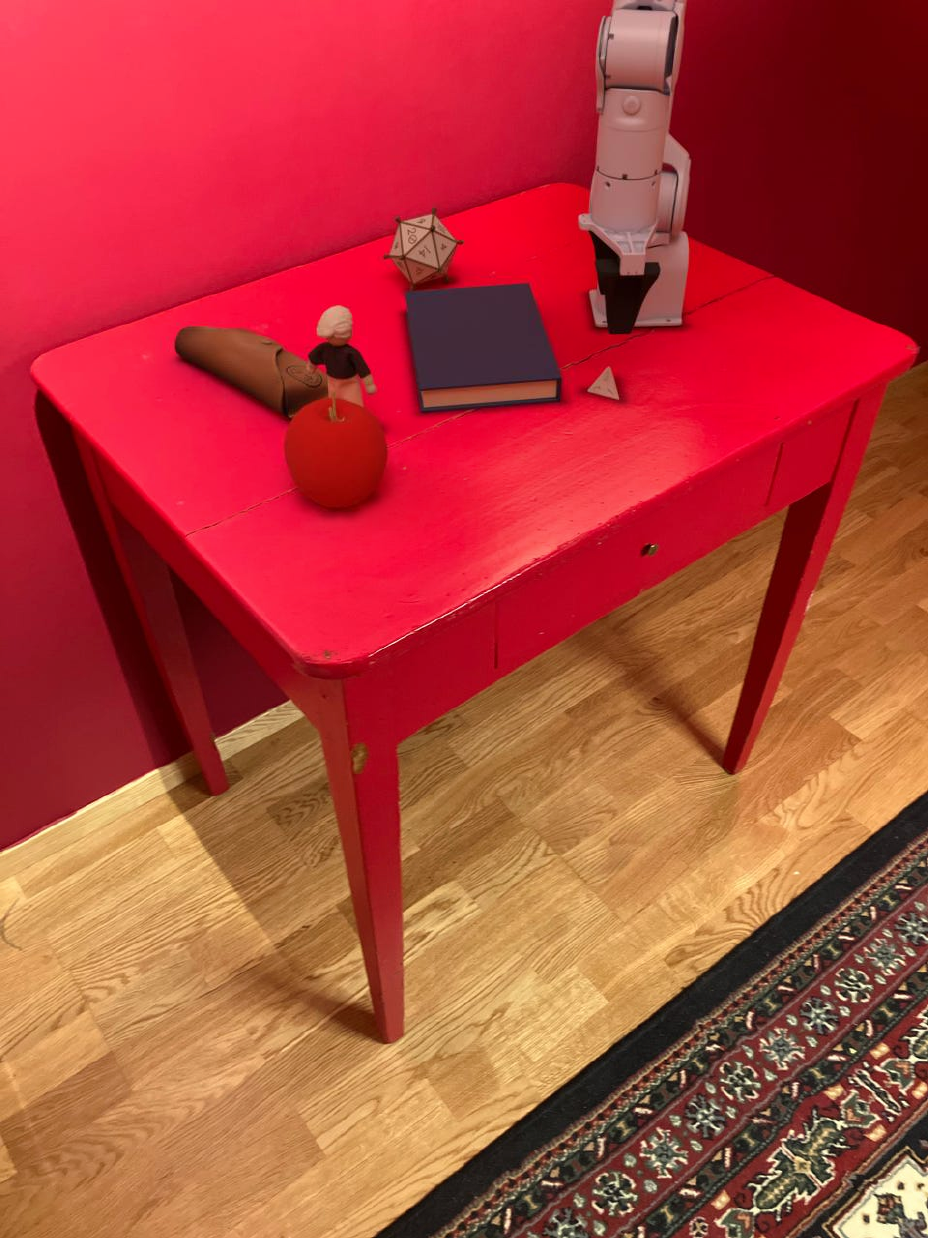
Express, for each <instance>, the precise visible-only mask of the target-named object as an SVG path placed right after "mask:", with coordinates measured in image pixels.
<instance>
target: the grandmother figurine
mask: <svg viewBox="0 0 928 1238" xmlns="http://www.w3.org/2000/svg"><path fill="white" fill-rule="evenodd" d="M353 324H354V322H353V315H352V313H351V311H350V309H349V308H347V307H345V306H343V305H333V306H331V307H329V308H328V309H326V310H325V311H324V312H323V313H322V315H321V316H320V319H319V320H318V323H317V327H316V328H315V330H316V334H317V336H318V338H321V339H326V341H324V342H321V343H319V344H317V345H316V346H314V348H313V349H311V351H310V352H309V353H307V358H308V359H307V362H308V364H307V366H306V370H307V372H308V373H310V374H314V373H315V372H316V371H317V368H318V366H324V367H325V373H326V374H327V376H328V393H329V398H332V394H331V390H333V391H335V398H336V399H342V400H346V401H349V402H352V403H355V404H358V405H360V406H362V407H364V408H365V406H364V398H363V391H362V385H363V386H364V389H365V393H366V394H367V395H370V396H372V395H375V393H377V390H378V387H377V386H376V384H375V383H374V378H373V375H372V371H371V369H370V367H369V366H368V363H367V362H366V361H365V358H364V357H363V355H362V353H361V351H360V350H359V349H358V348H356V347H354V346H352V345H351V344H349V342H350V341H351V339H352V337H353ZM360 380H361V382H360ZM361 383H362V384H361Z"/></svg>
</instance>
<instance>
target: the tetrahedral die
mask: <svg viewBox="0 0 928 1238" xmlns="http://www.w3.org/2000/svg"><path fill="white" fill-rule="evenodd" d="M587 392H588V393H591V394H593V395H599V396H601V397H606V398H609V399H612V400H613V399H614V400H617V401H619V400H620V397H619V394H618V389H617V386H616V381H615V377H614V374H613V372H612V369H611V367H610V366H609V365H608V366H607V367H606V368H605V369H604V371H602V373H601V374H600V375H599V376H598V378H597V379H596V380H595V381H594V382H593V383H592V384H591V385H590V386H589V387H588V389H587Z"/></svg>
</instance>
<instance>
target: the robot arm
mask: <svg viewBox="0 0 928 1238" xmlns="http://www.w3.org/2000/svg"><path fill="white" fill-rule="evenodd" d="M687 1H688V0H613V3H612V7H611V11H610V16H607V15H603V16H602V18H601V21H600V24H599V28H598V33H597V42H596V51H595V52H596V53H595V79H596V106H595V108H596V114H599V117H598V126H597V140H596V152H595V153H596V155H595V168H594V171H593V175H592V180H591V185H590V192H589V200H588V201H589V203H588V213H581V214H579V215H578V218H577V219H578V221H577V223H578V224H577V225H578V228H579V229H580V230H581V231H585V232H586V231H588V234H589V237H590V239H591V242H592V245H593V250H594V257H595V259H594V266H595V271H596V277H597V285H596V286H597V287H596V289H591V290H589V292H588V296H589V300H590V306H591V310H592V316H593V320H594V325H595V327H597V328H607V330H608V334H609V335H615V336H616V335H631V334H632V333H633V330H634V328H636V327H678V326H682V323H683V319H682V313H683V308H684V302H685V301H684V300H685V294H686V287H687V279H688V273H689V264H690V247H689V246H690V243H689V238H688V234H687V232H686V231H683V229H684V223H685V218H686V217H685V216H686V210H687V203H688V197H689V190H690V181H691V180H690V179H691V177H690V172H691V168H692V167H691V165H692V160H691V158H690V154H689V151H687V150H686V149H685V147H683V146H682V145H681V144H680V143H679V142H678V141H677V140H676V139H675V138H674V137H673V136H672V135H671V134H670V125H671V120H672V119H671V117H672V110H673V105H674V104H673V102H674V96H675V95H674V94H675V88H676V85H677V82H678V78H679V73H680V67H681V61H682V53H683V46H684V35H685V15H686V9H687ZM663 167H666V168H669V169H670V168H671V169H673V170H668V169H663Z"/></svg>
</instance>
